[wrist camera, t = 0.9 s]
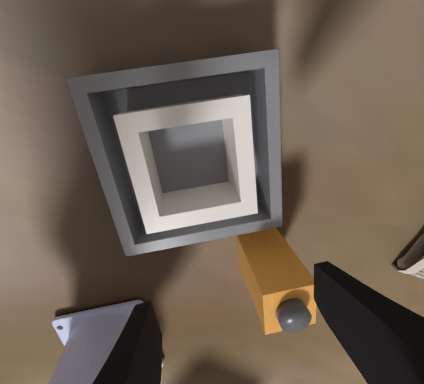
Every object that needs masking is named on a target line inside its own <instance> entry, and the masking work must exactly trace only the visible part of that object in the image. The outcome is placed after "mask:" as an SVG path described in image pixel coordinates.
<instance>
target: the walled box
mask: <svg viewBox="0 0 424 384" xmlns="http://www.w3.org/2000/svg"><path fill="white" fill-rule="evenodd" d="M65 80H66V83H67V86H68V89H69V92H70V95H71V98H72V101H73V103H74V106H75V109H76V112H77V115H78V118H79V121H80V124H81V127H82V130H83V133H84V136H85V139H86V142H87V145H88V147H89V150H90V153H91V156H92V159H93V162H94V165H95V168H96V171H97V174H98V177H99V180H100V183H101V186H102V189H103V192H104V194H105V197H106V200H107V203H108V206H109V209H110V212H111V215H112V218H113V221H114V224H115V227H116V230H117V233H118V236H119V238H120V241H121V244H122V247H123V250H124V253H125V256H126V257H127V256H133V255H138V254H143V253H148V252H153V251H158V250H163V249H169V248H174V247H179V246H184V245H189V244H194V243H199V242H205V241H210V240H215V239H220V238H225V237H230V236H235V235H241V234H246V233H251V232H256V231H261V230H266V229H271V228H277V227H282V181H281V136H280V91H279V49H273V50H266V51H259V52H251V53H244V54H237V55H230V56H222V57H215V58H208V59H201V60H193V61H186V62H179V63H172V64H164V65H157V66H150V67H143V68H135V69H128V70H121V71H114V72H106V73H99V74H92V75H85V76H77V77H70V78H65Z"/></svg>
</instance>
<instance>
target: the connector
mask: <svg viewBox="0 0 424 384" xmlns="http://www.w3.org/2000/svg"><path fill="white" fill-rule="evenodd" d="M236 236H237V245H238V254H239V263H240V268H241V270H242V273H243V276H244V278H245V281H246V284H247V287H248V289H249V292H250V295H251V297H252V300H253V303H254V306H255V308H256V311H257V314H258V316H259V319H260V322H261V325H262V327H263V330H264V333H265V335H266V334H271V333H275V332H279V331H285V332H288V333H294V332H298V331H301V330H303V329H304V328H306V327H307V326H308V325H310V324H315V323H316V302H315V300H314V278H313V277H312V276H311V274H310V273H309V272H308V270H307V269H306V268H305V266H304V265H303V264H302V262H301V261H300V259H299V258H298V257H297V255H296V254H295V253H294V251H293V250H292V249H291V247H290V246H289V245H288V243H287V242H286V240H285V239H284V238H283V236H282V235H281V234H280V232H279V231H278V230H277V228H271V229H266V230H261V231H256V232H251V233H246V234H241V235H236Z"/></svg>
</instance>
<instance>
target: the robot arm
mask: <svg viewBox="0 0 424 384" xmlns="http://www.w3.org/2000/svg"><path fill="white" fill-rule="evenodd" d="M314 300H315V302H316V304H317V306H318V308H319V310H320V312H321V314H322V316H323V317H324V319H325V321H326V323H327V324H328V326H329V327H330V329H331V330H332V332H333V333H334V335H335V336H336V338H337V339H338V341H339V342H340V343H341V345H342V346H343V348H344V349H345V351H346V352H347V354H348V355H349V357H350V358H351V360H352V361H353V362H354V364H355V365H356V367H357V368H358V370H359V371H360V373H361V374H362V376H363V377H364V379H365V380H366V382H367V383H368V384H424V317H422V316H420V315H418V314H416V313H414V312H412V311H410V310H409V309H407V308H405V307H403V306H401V305H399V304H398V303H396V302H394V301H392V300H390V299H389V298H387V297H385V296H383V295H382V294H380V293H378V292H377V291H375V290H373V289H372V288H370V287H368V286H367V285H365V284H363V283H362V282H360V281H358V280H357V279H355V278H354V277H352V276H350V275H349V274H347V273H346V272H344V271H342V270H341V269H339V268H338V267H336V266H334V265H333V264H331V263H330V262H328V261H326V262H321V263H317V264H314ZM52 325H53V327H54V328H55V330H56V332H57V334H58V335H59V337H60V339H61V341H62V343H63V344H64V346H65V347H64V349H63V351H62V354H61V356H60V358H59V360H58V363H57V365H56V367H55V370H54V372H53V374H52V376H51V379H50V381H49V383H48V384H160V382H161V370H162V367H163V365H164V361H163V358H162V333H161V330H160V328H159V325H158V322H157V319H156V316H155V313H154V310H153V308H152V305H151V302H150V301H149V302H145V303H144V302H143V301H142V300H134V301H129V302H124V303H120V304H115V305H110V306H105V307H100V308H96V309H91V310H86V311H81V312H76V313H71V314H67V315H62V316H57V317H55V318H54V319H53V321H52Z"/></svg>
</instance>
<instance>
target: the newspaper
mask: <svg viewBox="0 0 424 384" xmlns="http://www.w3.org/2000/svg"><path fill="white" fill-rule="evenodd" d="M391 265H392V266H393V267H394V268H395V269H396V270H397V271H399V272H403V273H406V274H409V275H412V276H415V277H418V278H422V279H424V233H423V234H422V235H421V236H420V237H419V239H418V240H417V241H416V242H415V244H414V245H413V246H412V247H411V248H410V250H409V251H408V252H407V253H406V255H405V256H404V257H402V258H400V259H398V260H397V265H398V266H396V265H393V264H391Z"/></svg>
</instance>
